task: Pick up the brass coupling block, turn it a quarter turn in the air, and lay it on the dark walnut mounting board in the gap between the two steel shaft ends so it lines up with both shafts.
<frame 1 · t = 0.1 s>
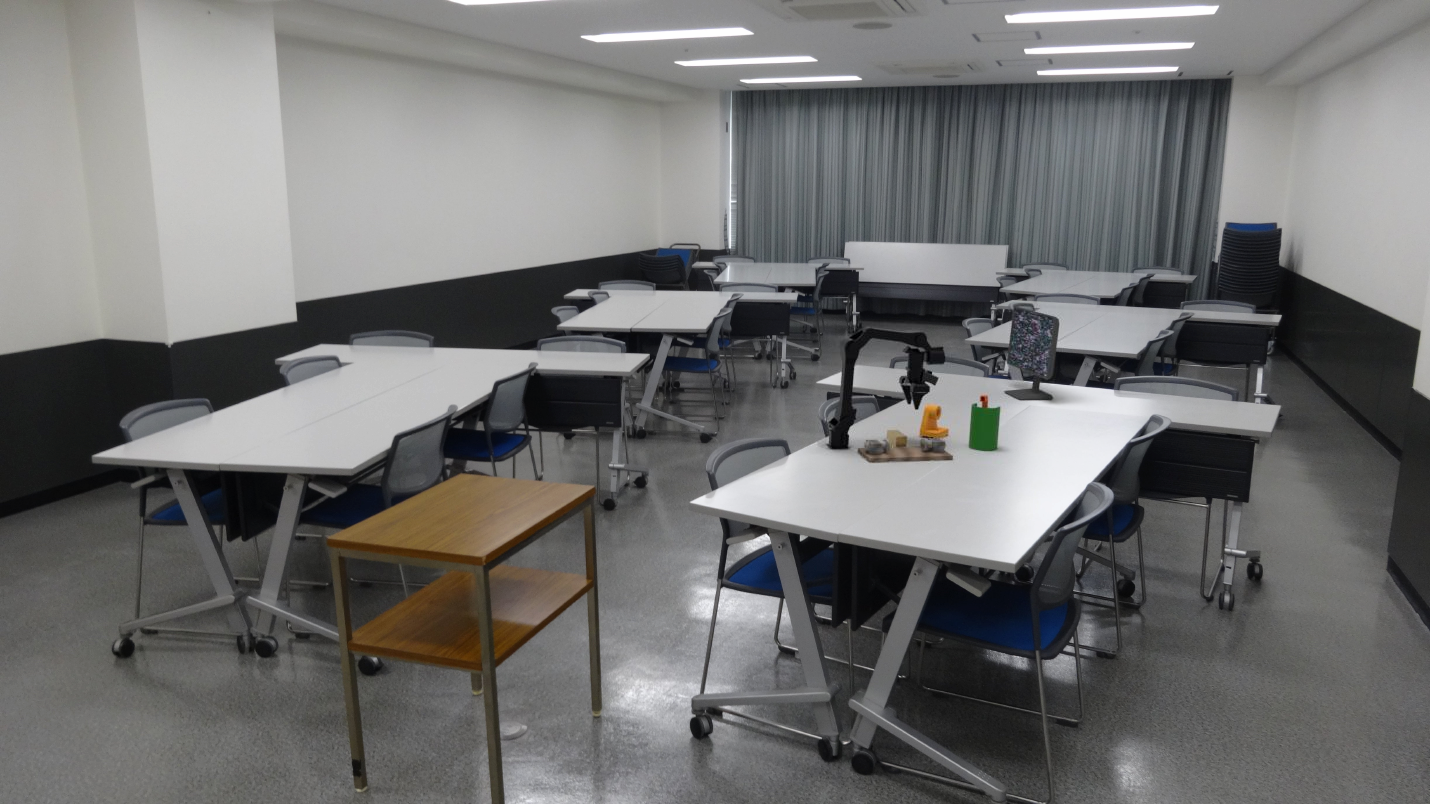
hand: (912, 406, 348), 14 cm above the table, tool pointing down, fingers open, 9 cm apart
shaft mount: (904, 455, 336), on the table
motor: (982, 448, 349), on the table
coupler: (896, 446, 350), on the table
computer monitor: (1027, 396, 444), on the table
bracket: (934, 436, 365), on the table
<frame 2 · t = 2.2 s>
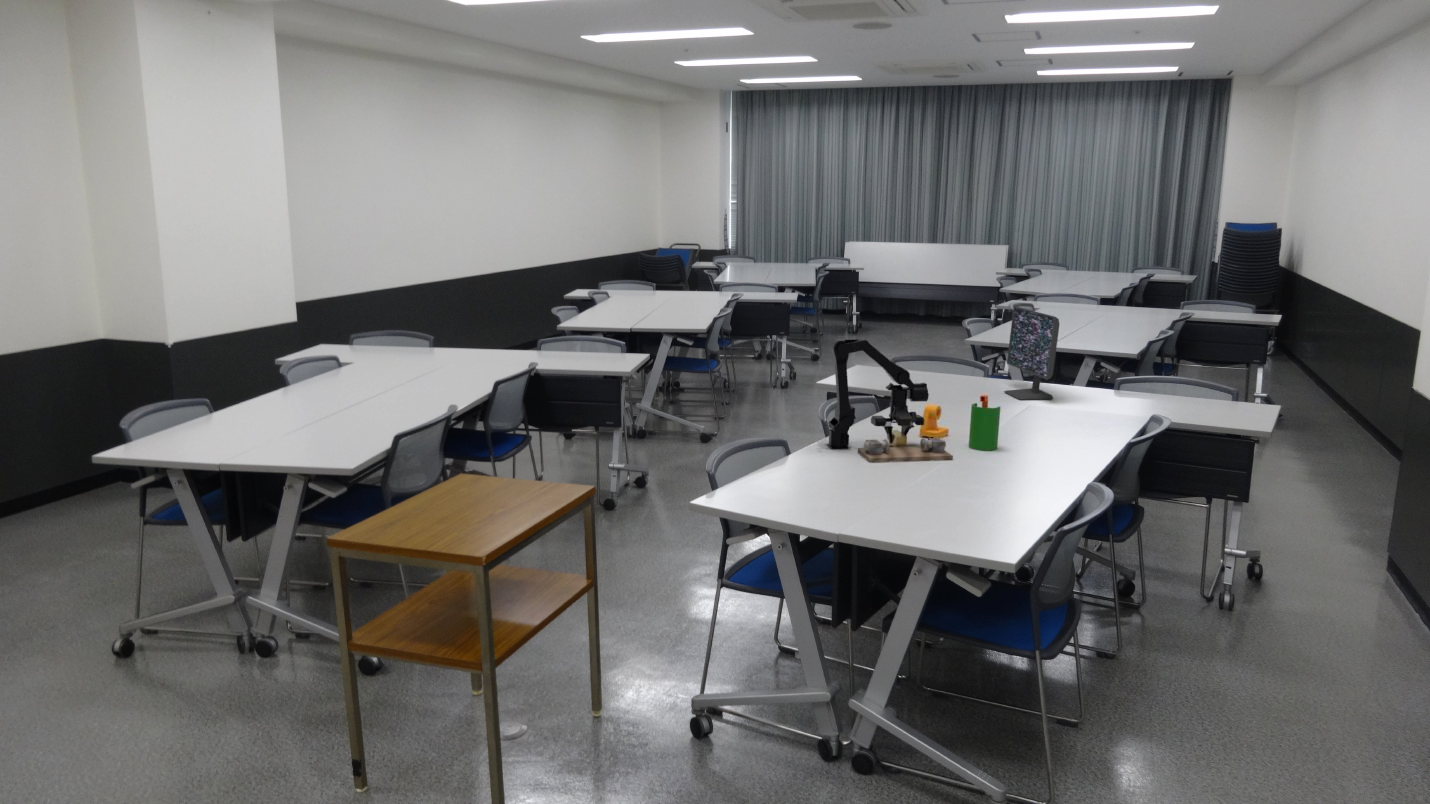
hand: (896, 443, 349), 1 cm above the table, tool pointing down, fingers closed on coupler, 4 cm apart
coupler: (896, 446, 350), on the table, touching gripper
everything else where it was.
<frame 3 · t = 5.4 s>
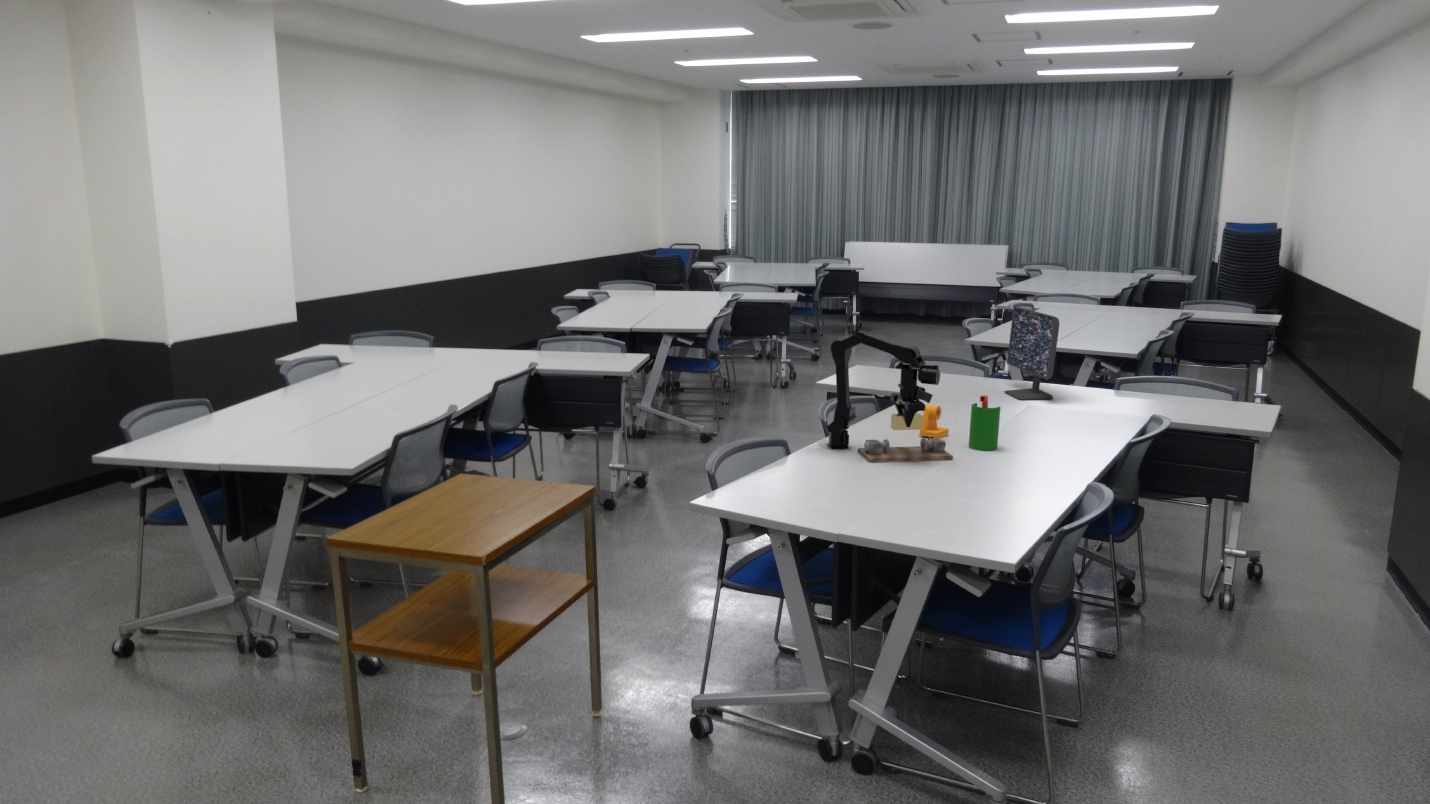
hand: (906, 425, 334), 11 cm above the table, tool pointing down, fingers closed on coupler, 4 cm apart
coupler: (906, 428, 334), point 10 cm above the table, touching gripper
everything else where it was.
when the fingers open (3 cm above the table, at t = 8.1 s): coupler stays where it is, resting on shaft mount.
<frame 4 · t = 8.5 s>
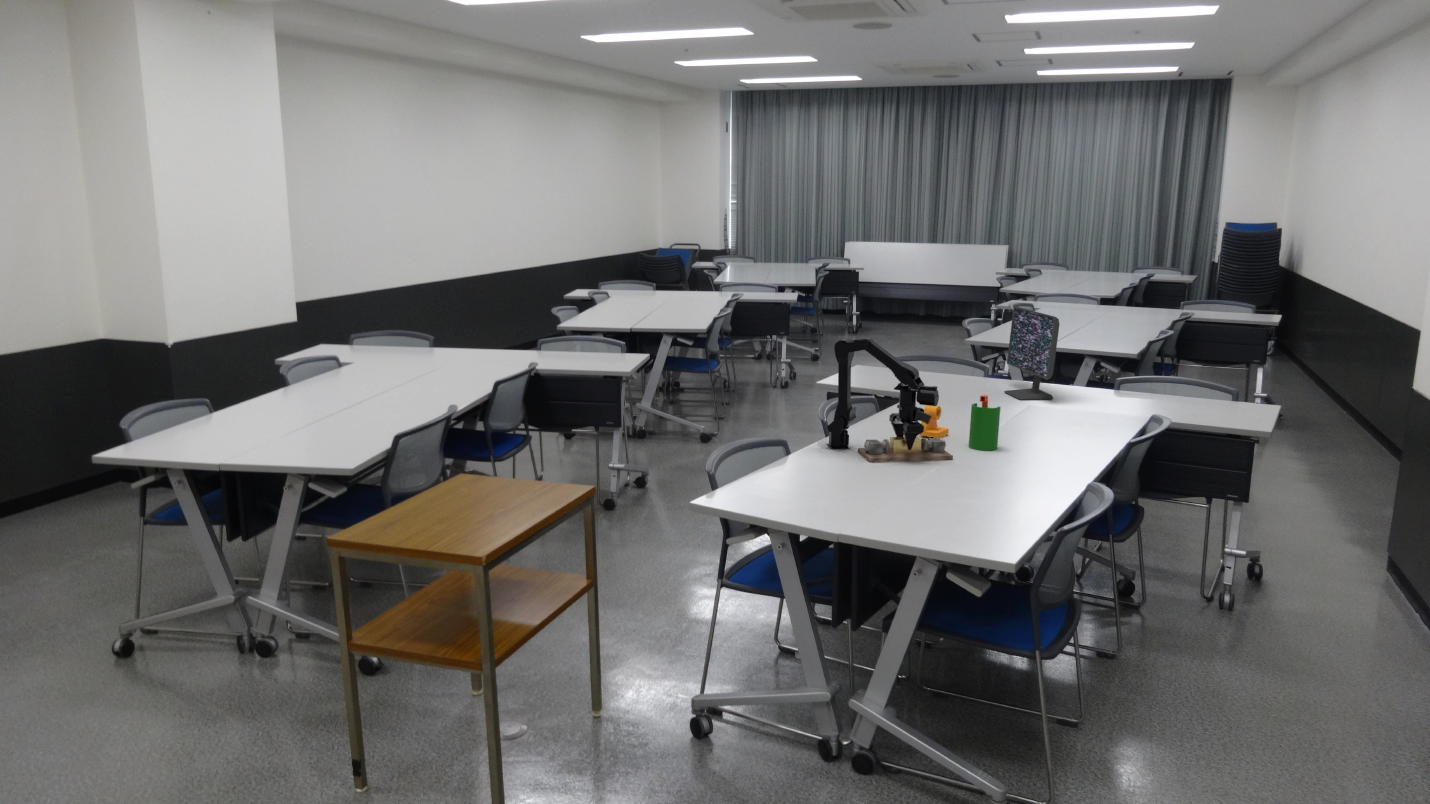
hand: (905, 446, 335), 3 cm above the table, tool pointing down, fingers open, 9 cm apart
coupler: (904, 451, 335), point 1 cm above the table, touching shaft mount
everything else where it was.
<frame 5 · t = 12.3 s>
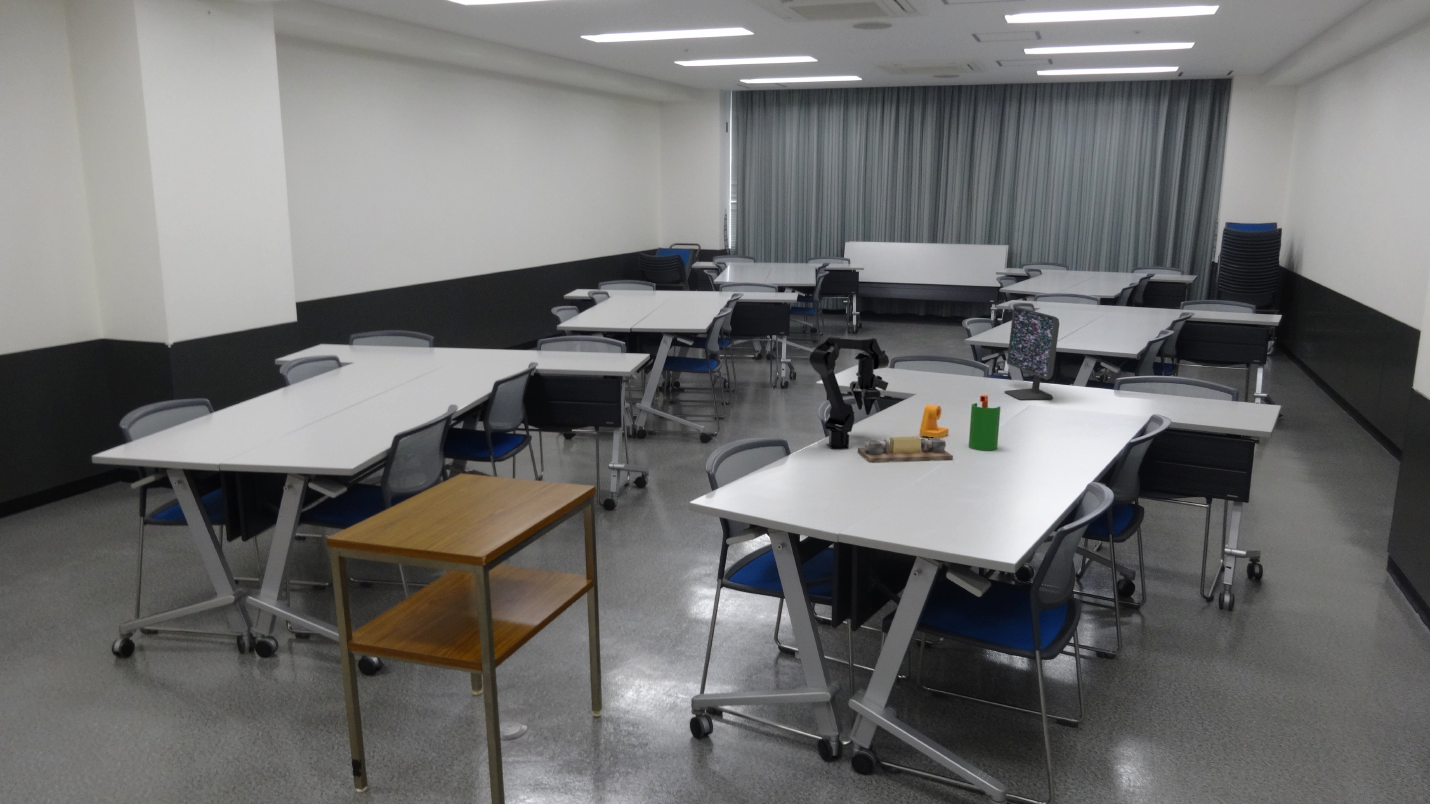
hand: (863, 412, 354), 11 cm above the table, tool pointing down, fingers open, 9 cm apart
nothing on the table moved.
at the end: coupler 0.0 cm off-centre on the shaft mount, point 1.5 cm above the shaft mount's base; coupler tilted 0°; the gripper is holding nothing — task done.
